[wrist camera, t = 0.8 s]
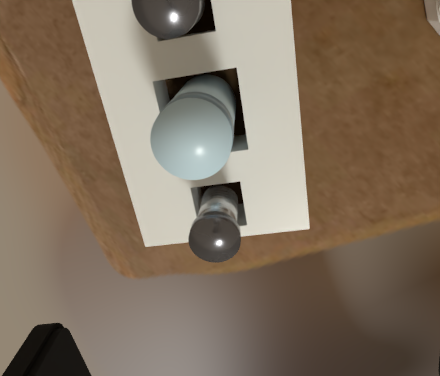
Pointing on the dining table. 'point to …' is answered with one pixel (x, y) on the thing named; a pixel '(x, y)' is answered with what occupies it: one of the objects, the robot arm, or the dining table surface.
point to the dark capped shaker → (216, 226)
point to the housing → (158, 98)
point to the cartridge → (196, 128)
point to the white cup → (433, 13)
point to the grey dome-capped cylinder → (168, 16)
